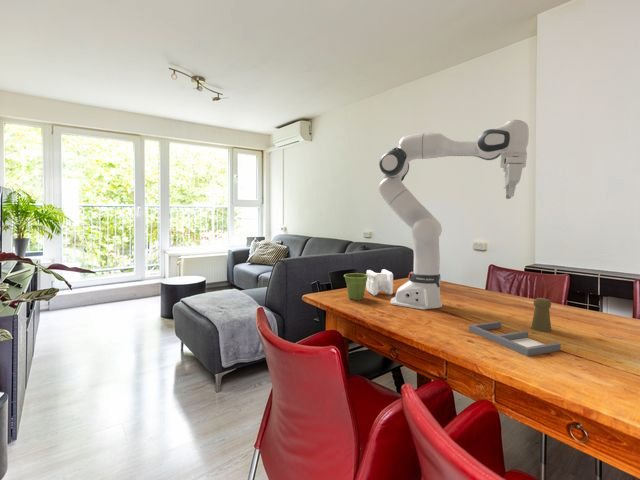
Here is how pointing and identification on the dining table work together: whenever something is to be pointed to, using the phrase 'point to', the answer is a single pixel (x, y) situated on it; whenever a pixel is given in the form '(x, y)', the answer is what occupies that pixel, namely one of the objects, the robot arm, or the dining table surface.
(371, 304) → the dining table surface
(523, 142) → the robot arm
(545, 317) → the cork
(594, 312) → the dining table surface
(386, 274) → the cable organizer
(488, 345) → the dining table surface
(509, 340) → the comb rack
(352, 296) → the plant pot
